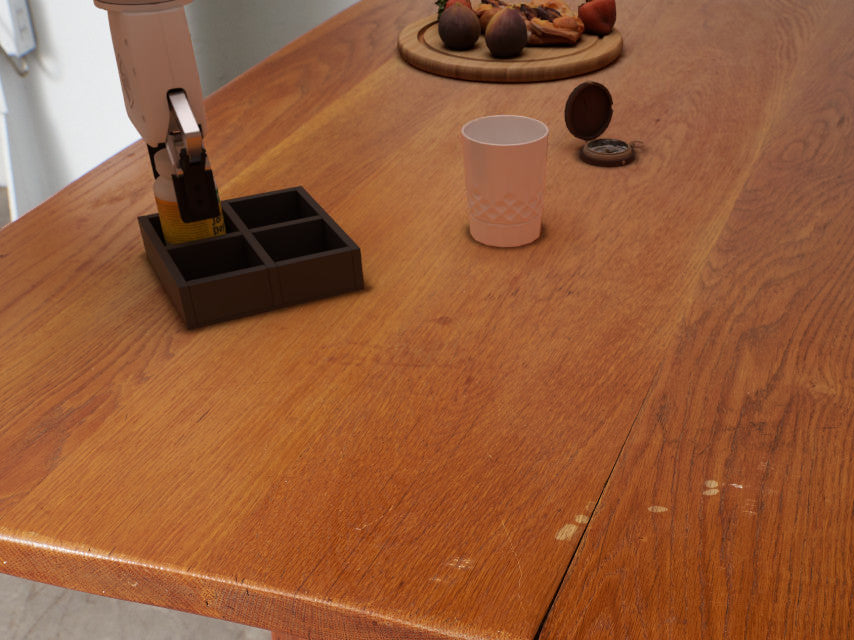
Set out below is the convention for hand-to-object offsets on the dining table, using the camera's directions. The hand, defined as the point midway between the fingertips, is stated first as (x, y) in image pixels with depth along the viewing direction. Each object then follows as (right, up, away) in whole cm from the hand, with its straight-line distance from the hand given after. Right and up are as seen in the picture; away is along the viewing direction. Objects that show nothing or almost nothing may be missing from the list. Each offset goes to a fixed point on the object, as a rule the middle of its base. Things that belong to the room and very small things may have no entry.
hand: (186, 198), depth 87 cm
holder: (+5, -6, +3) cm, 8 cm away
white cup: (+28, -1, +10) cm, 29 cm away
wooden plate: (+28, +39, +57) cm, 74 cm away
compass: (+39, +13, +26) cm, 49 cm away
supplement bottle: (0, -4, +4) cm, 6 cm away
